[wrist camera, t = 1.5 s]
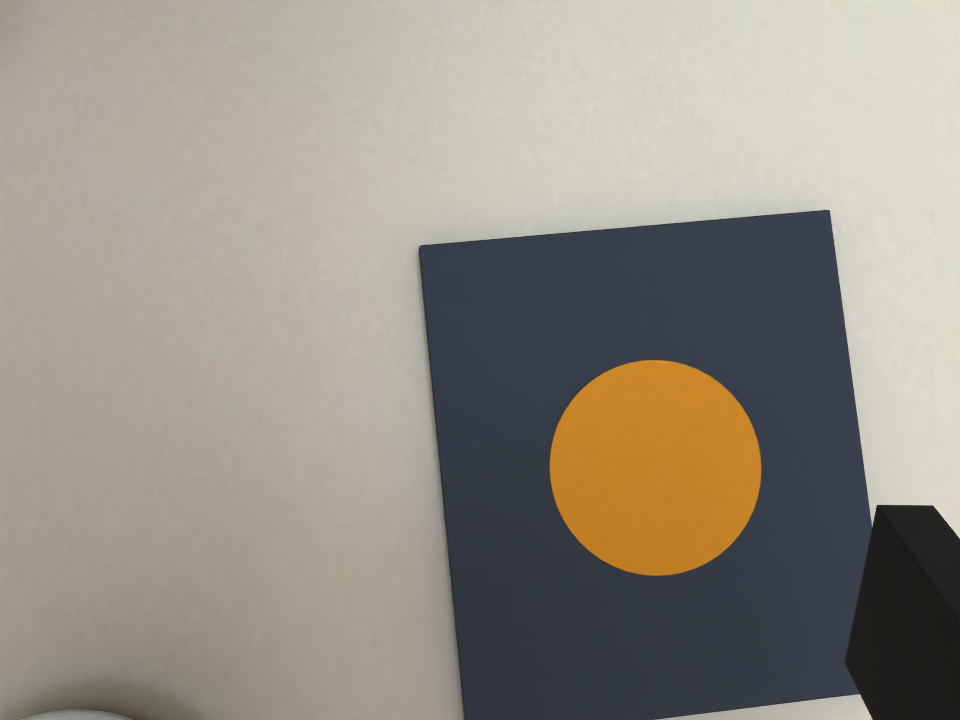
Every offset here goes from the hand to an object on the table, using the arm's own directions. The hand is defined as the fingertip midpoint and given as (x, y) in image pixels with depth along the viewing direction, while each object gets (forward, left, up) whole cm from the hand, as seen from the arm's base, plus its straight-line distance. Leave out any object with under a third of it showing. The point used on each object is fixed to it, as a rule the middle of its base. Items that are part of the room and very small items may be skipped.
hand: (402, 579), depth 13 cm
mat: (0, +8, -17) cm, 19 cm away
